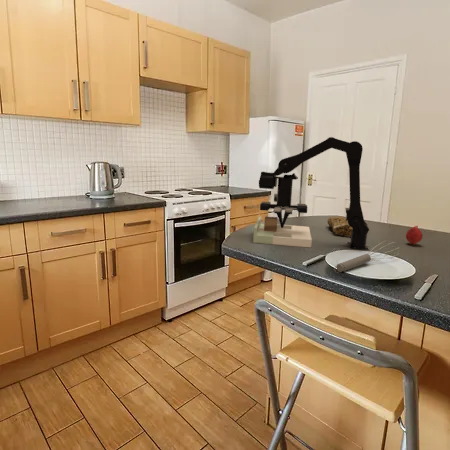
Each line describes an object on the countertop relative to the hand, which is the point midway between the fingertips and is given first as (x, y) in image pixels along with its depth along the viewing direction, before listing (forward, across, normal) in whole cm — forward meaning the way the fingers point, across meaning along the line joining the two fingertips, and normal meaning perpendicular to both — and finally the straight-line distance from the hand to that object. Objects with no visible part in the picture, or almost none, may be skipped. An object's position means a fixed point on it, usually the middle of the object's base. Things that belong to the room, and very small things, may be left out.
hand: (282, 227), depth 138 cm
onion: (+5, -52, -6) cm, 53 cm away
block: (+1, +5, 0) cm, 5 cm away
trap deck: (+4, 0, 0) cm, 4 cm away
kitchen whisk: (+5, -29, +24) cm, 38 cm away
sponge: (+5, -26, -20) cm, 33 cm away
